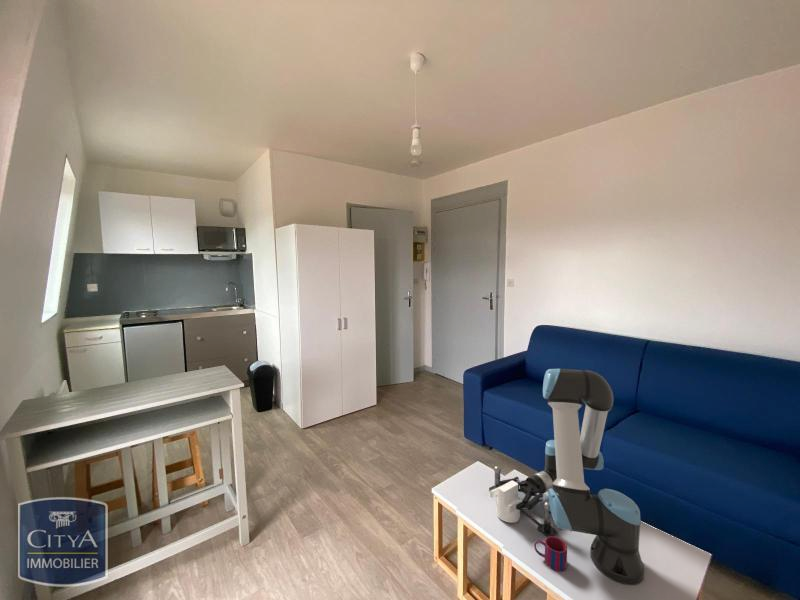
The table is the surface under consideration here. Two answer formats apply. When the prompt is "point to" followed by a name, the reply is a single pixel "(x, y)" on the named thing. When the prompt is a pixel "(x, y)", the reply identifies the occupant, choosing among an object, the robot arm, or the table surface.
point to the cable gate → (543, 528)
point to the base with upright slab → (507, 502)
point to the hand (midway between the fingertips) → (499, 501)
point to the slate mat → (539, 507)
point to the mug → (554, 553)
